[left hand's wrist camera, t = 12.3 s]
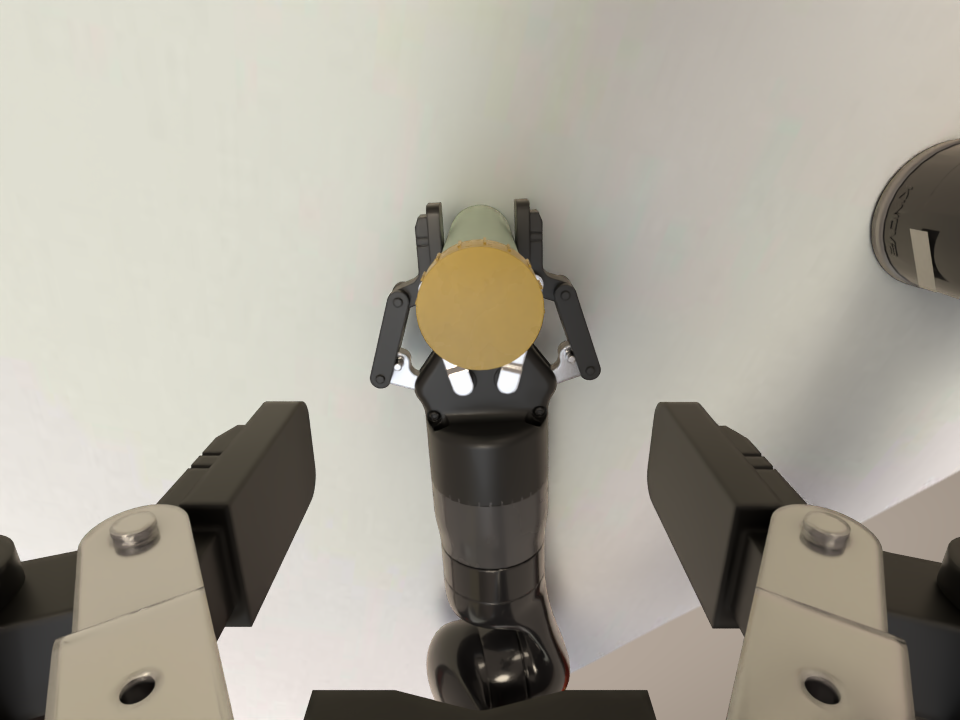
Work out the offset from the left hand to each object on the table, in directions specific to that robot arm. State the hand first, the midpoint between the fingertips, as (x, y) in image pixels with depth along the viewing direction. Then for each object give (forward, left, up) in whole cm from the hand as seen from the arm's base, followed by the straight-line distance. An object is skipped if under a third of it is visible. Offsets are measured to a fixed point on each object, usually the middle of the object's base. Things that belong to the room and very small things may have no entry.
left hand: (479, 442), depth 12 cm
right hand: (0, -3, -21) cm, 21 cm away
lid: (0, 0, -10) cm, 10 cm away
